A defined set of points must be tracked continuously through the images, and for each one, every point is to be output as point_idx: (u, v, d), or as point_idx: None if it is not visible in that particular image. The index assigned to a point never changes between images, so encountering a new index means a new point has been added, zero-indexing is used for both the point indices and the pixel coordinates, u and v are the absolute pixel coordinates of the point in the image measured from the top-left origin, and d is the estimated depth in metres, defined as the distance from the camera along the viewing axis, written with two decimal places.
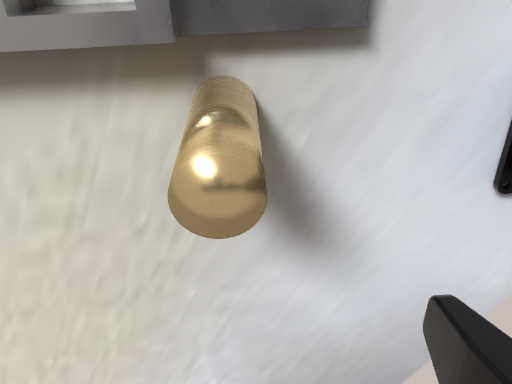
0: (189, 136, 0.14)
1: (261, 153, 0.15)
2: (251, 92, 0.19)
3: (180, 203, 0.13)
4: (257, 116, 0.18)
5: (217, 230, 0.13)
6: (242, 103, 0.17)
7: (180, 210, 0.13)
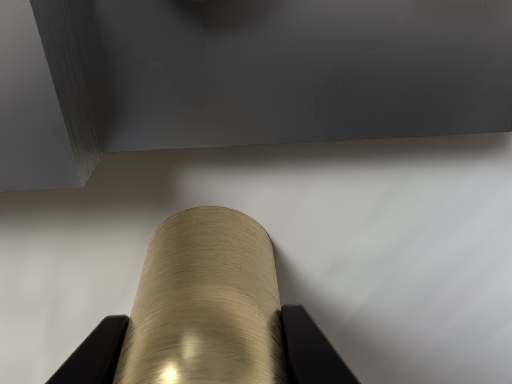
0: None
1: None
2: (265, 236, 0.10)
3: None
4: None
5: None
6: (252, 316, 0.07)
7: None
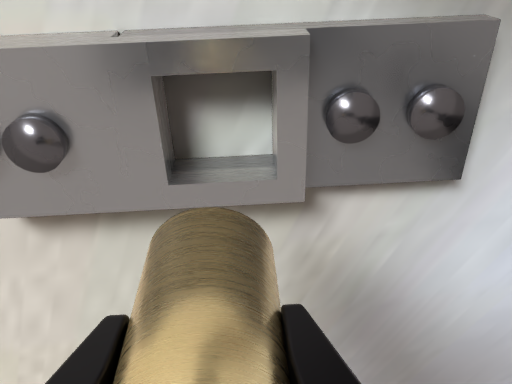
0: None
1: None
2: (265, 237, 0.10)
3: None
4: None
5: None
6: (252, 318, 0.07)
7: None
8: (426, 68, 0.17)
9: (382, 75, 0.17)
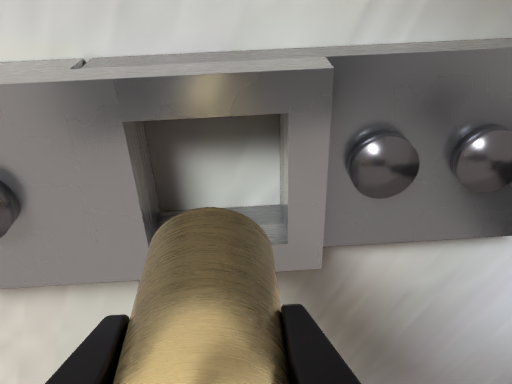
0: None
1: None
2: (265, 237, 0.10)
3: None
4: None
5: None
6: (252, 318, 0.07)
7: None
8: (479, 105, 0.13)
9: (422, 114, 0.13)
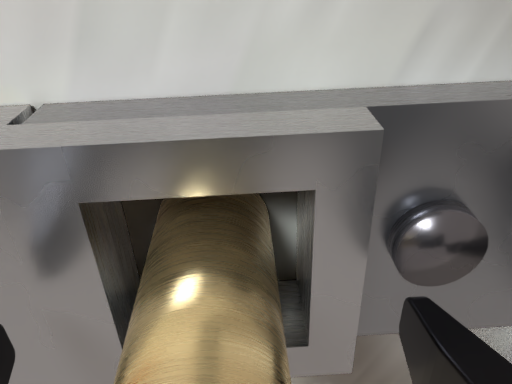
0: None
1: None
2: (261, 201, 0.11)
3: None
4: None
5: None
6: (249, 259, 0.08)
7: None
8: None
9: (494, 179, 0.10)
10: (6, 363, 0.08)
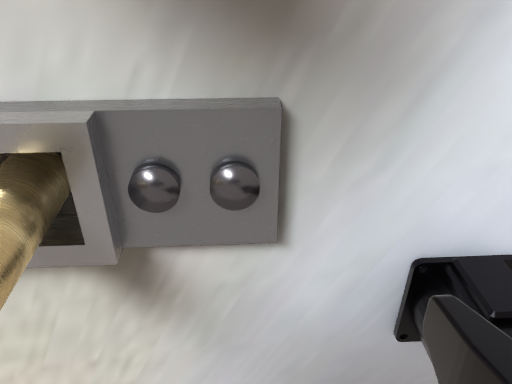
0: None
1: (20, 246, 0.15)
2: (63, 162, 0.19)
3: None
4: (58, 191, 0.18)
5: None
6: (27, 186, 0.16)
7: None
8: (220, 147, 0.18)
9: (179, 152, 0.18)
10: None
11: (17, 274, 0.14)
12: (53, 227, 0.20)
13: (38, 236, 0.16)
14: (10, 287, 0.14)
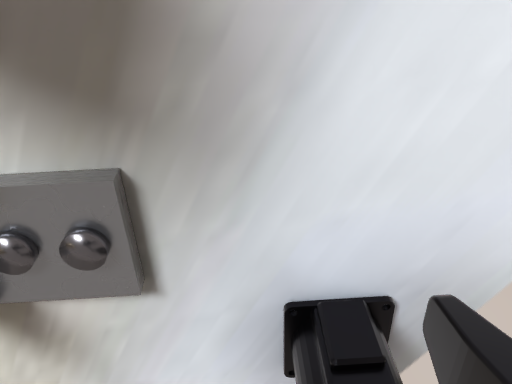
0: None
1: None
2: None
3: None
4: None
5: None
6: None
7: None
8: (65, 216, 0.20)
9: (28, 221, 0.20)
10: None
11: None
12: None
13: None
14: None
